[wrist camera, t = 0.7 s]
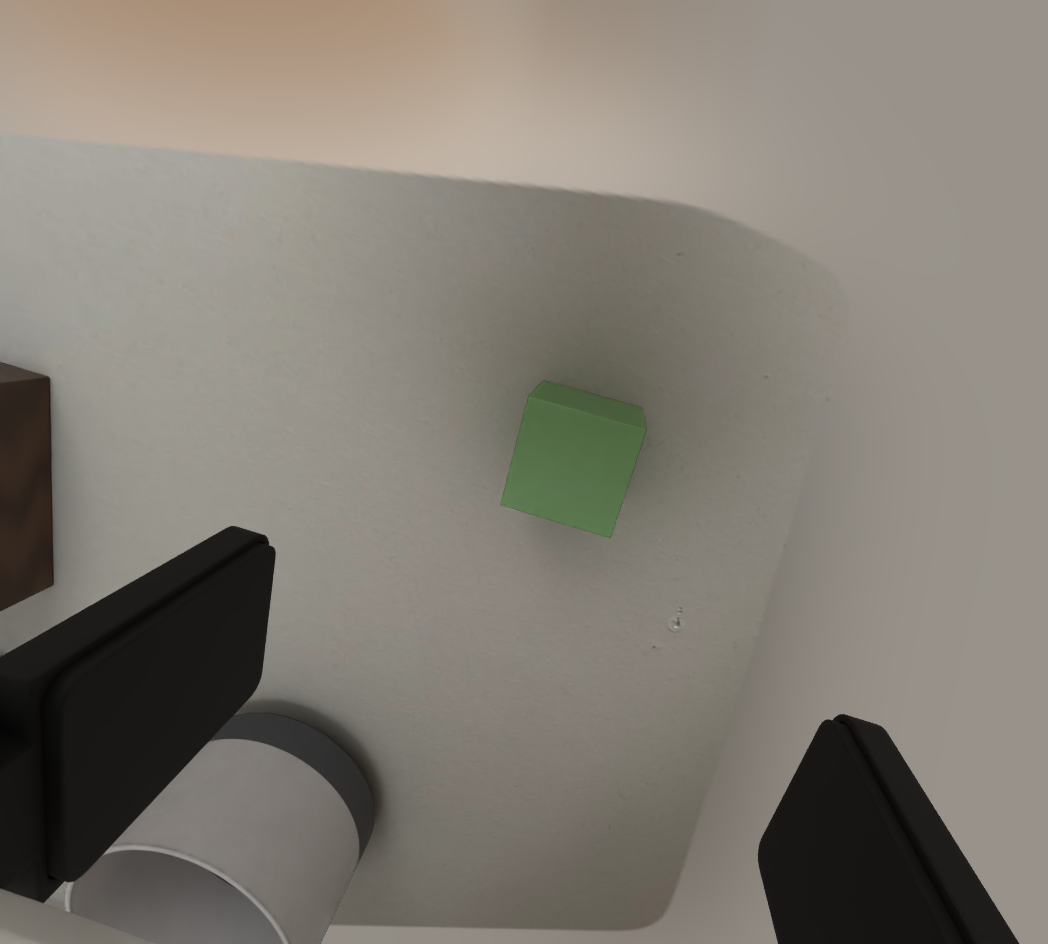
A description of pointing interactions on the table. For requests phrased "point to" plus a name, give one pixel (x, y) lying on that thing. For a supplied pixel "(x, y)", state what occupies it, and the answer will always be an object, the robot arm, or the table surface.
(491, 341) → the table surface
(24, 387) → the block
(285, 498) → the table surface
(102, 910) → the planter
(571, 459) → the toy block
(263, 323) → the table surface
